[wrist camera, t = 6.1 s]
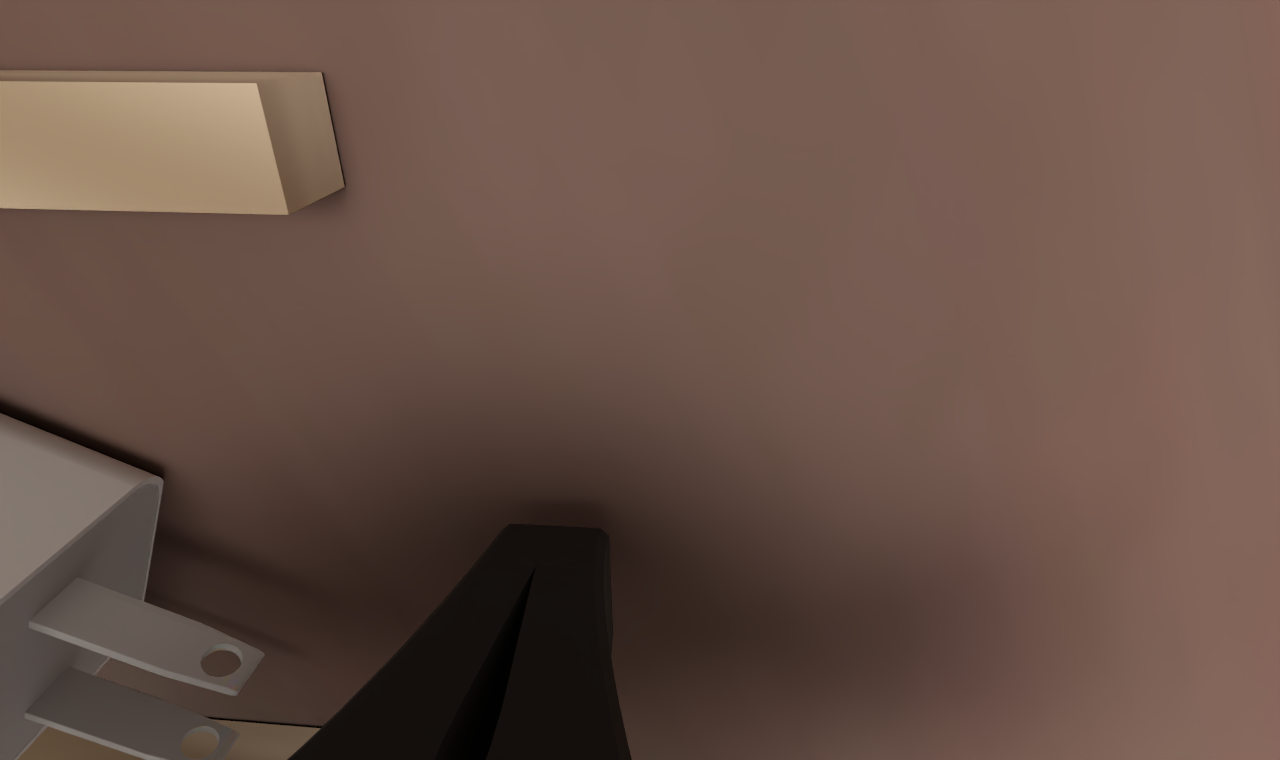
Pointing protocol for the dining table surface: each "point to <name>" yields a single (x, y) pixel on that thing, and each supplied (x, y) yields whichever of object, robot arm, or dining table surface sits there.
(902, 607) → the dining table surface
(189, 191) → the charger bay
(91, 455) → the usb wall charger
